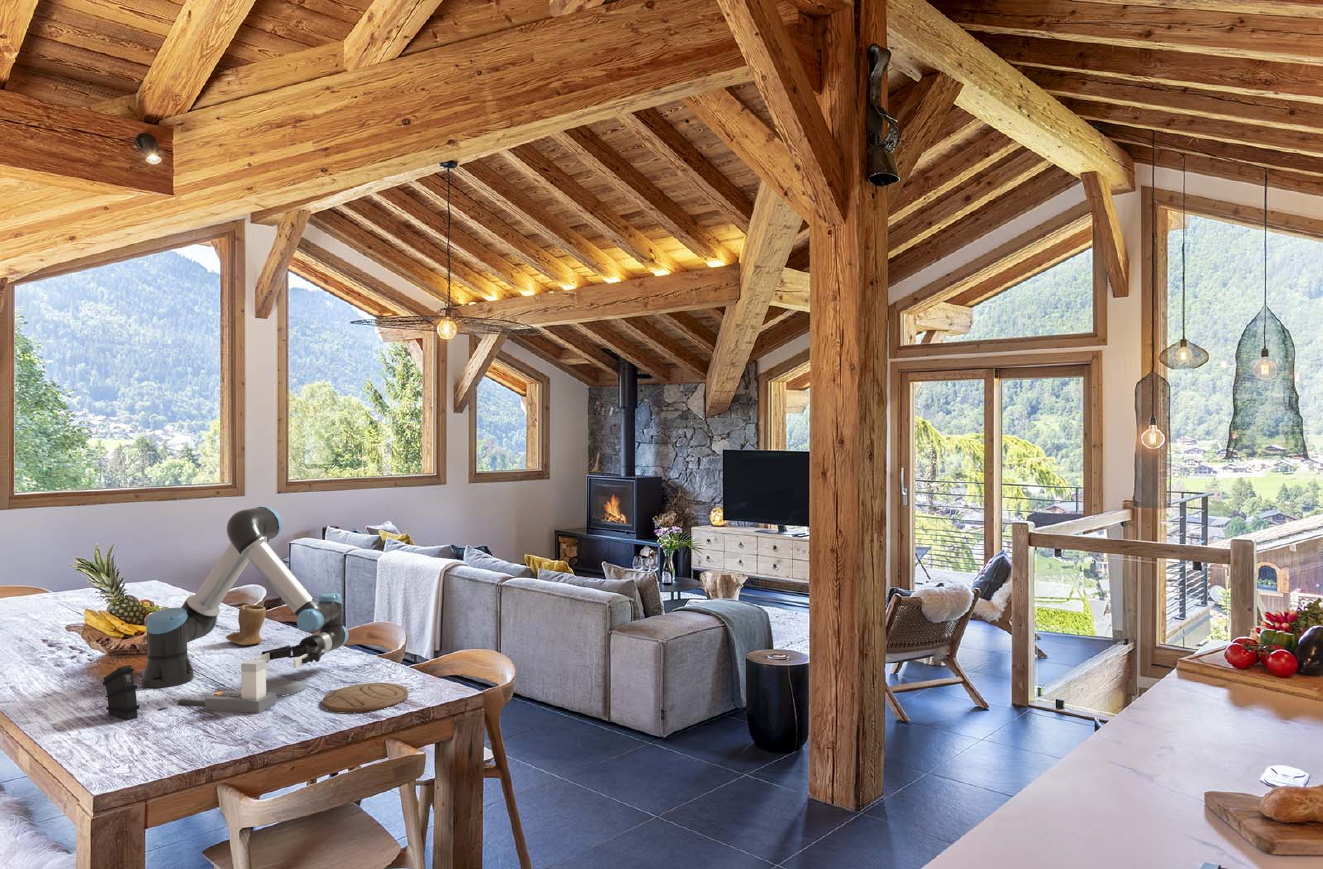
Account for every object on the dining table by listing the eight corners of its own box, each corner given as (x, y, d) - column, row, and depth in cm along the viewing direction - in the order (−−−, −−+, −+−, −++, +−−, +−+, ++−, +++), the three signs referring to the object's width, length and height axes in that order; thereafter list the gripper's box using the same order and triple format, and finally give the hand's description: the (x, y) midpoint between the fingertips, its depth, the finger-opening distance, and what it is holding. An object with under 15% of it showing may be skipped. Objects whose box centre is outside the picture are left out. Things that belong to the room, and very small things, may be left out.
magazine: (131, 717, 244) (118, 667, 248) (110, 729, 251) (98, 680, 254) (144, 713, 248) (132, 664, 251) (124, 725, 254) (112, 677, 257)
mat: (250, 691, 274) (250, 688, 274) (293, 681, 284) (293, 678, 284) (270, 699, 265) (270, 696, 265) (314, 689, 275) (314, 686, 275)
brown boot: (271, 643, 336) (270, 605, 336) (239, 649, 327) (238, 610, 327) (256, 637, 346) (255, 600, 346) (225, 642, 338) (224, 604, 338)
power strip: (170, 707, 258) (170, 694, 258) (189, 699, 266) (189, 686, 266) (258, 713, 252) (258, 699, 252) (275, 704, 260) (275, 691, 260)
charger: (241, 703, 255) (241, 663, 255) (251, 698, 260) (251, 659, 259) (256, 704, 254) (256, 664, 254) (266, 699, 259) (265, 660, 259)
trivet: (347, 720, 246) (347, 713, 246) (307, 702, 263) (307, 696, 263) (423, 699, 265) (423, 693, 265) (382, 683, 282) (382, 678, 282)
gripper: (348, 658, 285) (311, 676, 264) (281, 655, 290) (239, 673, 269) (348, 635, 285) (310, 652, 264) (281, 633, 290) (239, 650, 269)
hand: (274, 663), depth 266 cm, fingers open, 13 cm apart
